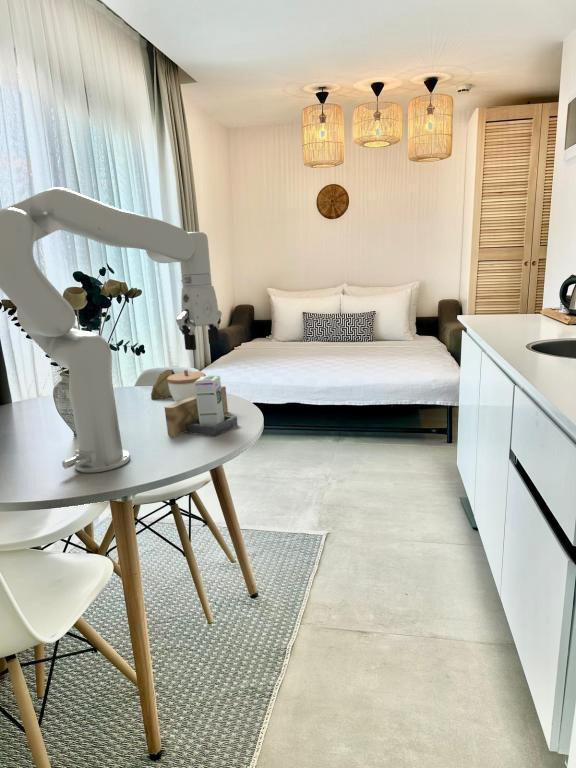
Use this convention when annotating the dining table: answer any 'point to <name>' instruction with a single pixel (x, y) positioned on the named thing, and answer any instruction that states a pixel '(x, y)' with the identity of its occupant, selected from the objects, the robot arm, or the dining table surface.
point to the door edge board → (185, 413)
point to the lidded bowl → (183, 384)
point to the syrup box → (209, 400)
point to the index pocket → (211, 430)
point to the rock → (162, 385)
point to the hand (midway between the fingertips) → (202, 346)
